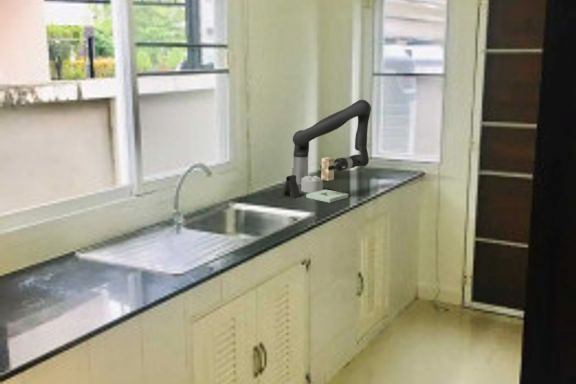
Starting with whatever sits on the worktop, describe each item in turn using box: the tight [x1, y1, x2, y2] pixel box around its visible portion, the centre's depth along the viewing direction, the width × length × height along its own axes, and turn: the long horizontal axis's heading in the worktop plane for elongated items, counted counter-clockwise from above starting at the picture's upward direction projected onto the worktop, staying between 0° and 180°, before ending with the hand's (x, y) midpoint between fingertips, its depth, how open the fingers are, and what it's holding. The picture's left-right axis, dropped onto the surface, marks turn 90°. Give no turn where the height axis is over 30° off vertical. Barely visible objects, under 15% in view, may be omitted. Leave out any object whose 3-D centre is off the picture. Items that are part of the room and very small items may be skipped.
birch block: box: [320, 157, 335, 181], centre depth 340 cm, size 5×5×12 cm
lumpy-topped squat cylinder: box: [300, 175, 324, 194], centre depth 360 cm, size 10×13×9 cm
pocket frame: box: [305, 189, 349, 203], centre depth 343 cm, size 17×17×2 cm
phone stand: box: [281, 174, 301, 199], centre depth 345 cm, size 9×6×12 cm, turn 56°
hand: (324, 167), depth 338 cm, fingers closed on birch block, 5 cm apart
